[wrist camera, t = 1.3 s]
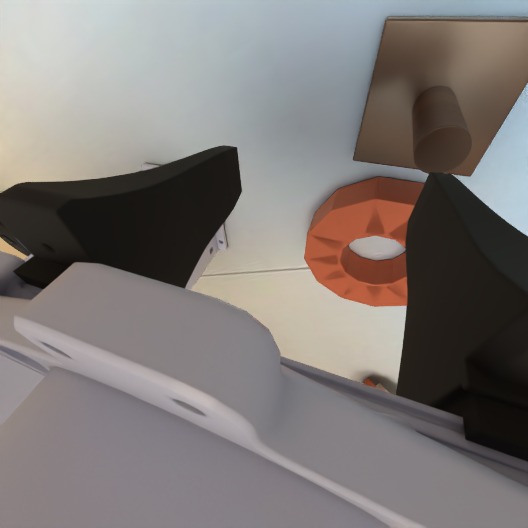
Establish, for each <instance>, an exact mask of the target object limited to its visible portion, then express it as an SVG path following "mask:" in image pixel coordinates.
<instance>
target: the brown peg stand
mask: <svg viewBox="0 0 528 528" xmlns="http://www.w3.org/2000/svg"><path fill="white" fill-rule="evenodd" d="M527 83H528V17H448V16H388V17H387V19H386V21H385V24H384V29H383V33H382V37H381V42H380V46H379V50H378V54H377V59H376V63H375V67H374V71H373V76H372V80H371V84H370V88H369V93H368V97H367V101H366V105H365V110H364V114H363V118H362V123H361V127H360V131H359V135H358V140H357V144H356V148H355V152H354V157H353V160H354V161H361V162H368V163H375V164H383V165H390V166H397V167H404V168H412V169H419V170H421V171H423V172H425V173H430V172H437V173H448V174H455V175H462V176H471V175H472V173H473V172H474V170H475V168H476V167H477V165H478V163H479V162H480V160H481V158H482V157H483V155H484V153H485V152H486V150H487V149H488V147H489V145H490V144H491V142H492V140H493V139H494V137H495V135H496V134H497V132H498V130H499V129H500V127H501V125H502V124H503V122H504V121H505V119H506V117H507V116H508V114H509V112H510V111H511V109H512V107H513V106H514V104H515V102H516V101H517V99H518V98H519V96H520V94H521V93H522V91H523V89H524V88H525V86H526V84H527Z"/></svg>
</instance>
